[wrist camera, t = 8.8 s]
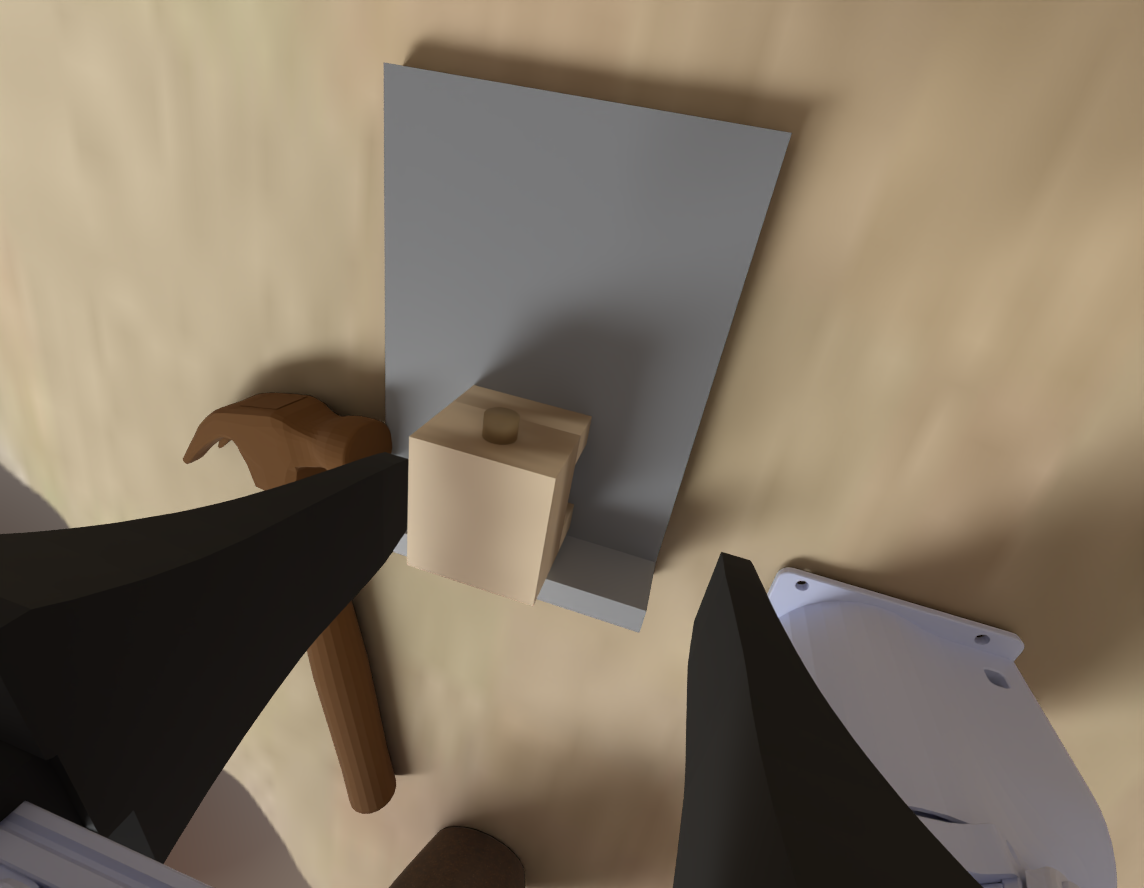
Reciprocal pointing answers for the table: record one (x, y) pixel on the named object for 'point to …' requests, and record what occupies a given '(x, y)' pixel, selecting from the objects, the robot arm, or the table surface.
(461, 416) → the cabinet block
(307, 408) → the hammer
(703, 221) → the wall board
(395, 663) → the table surface
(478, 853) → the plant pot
